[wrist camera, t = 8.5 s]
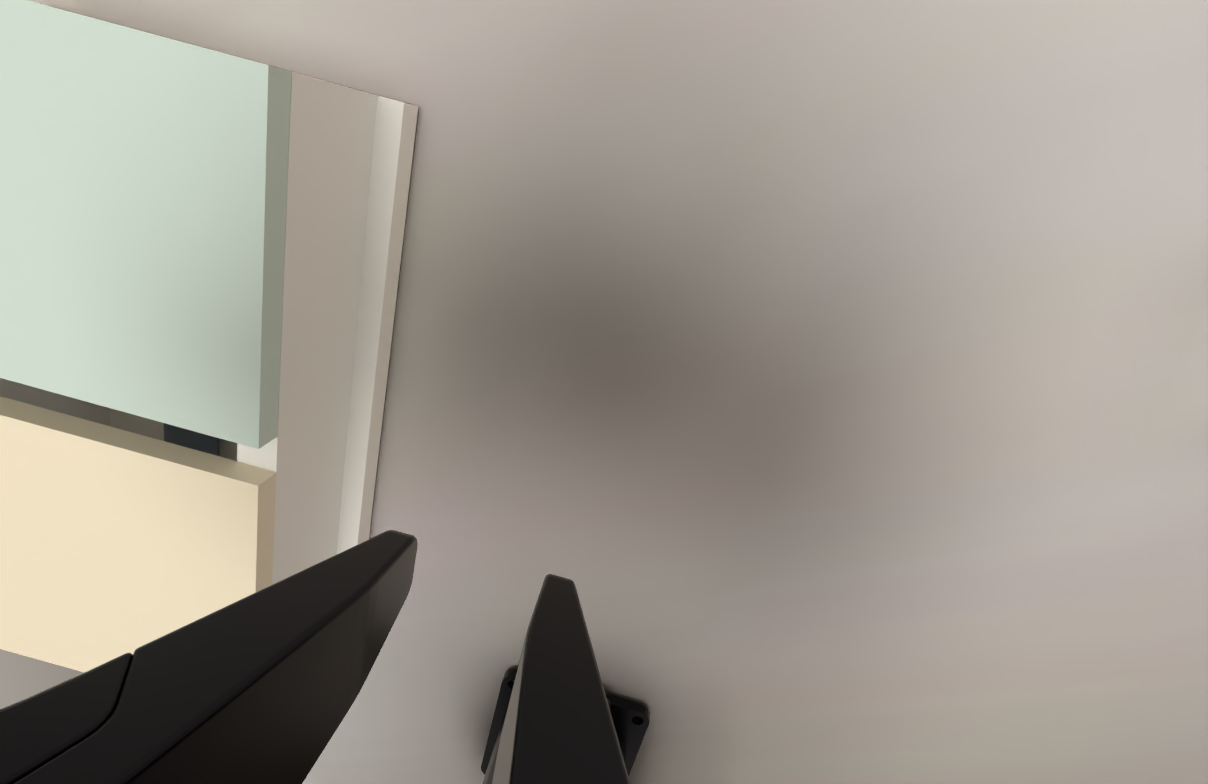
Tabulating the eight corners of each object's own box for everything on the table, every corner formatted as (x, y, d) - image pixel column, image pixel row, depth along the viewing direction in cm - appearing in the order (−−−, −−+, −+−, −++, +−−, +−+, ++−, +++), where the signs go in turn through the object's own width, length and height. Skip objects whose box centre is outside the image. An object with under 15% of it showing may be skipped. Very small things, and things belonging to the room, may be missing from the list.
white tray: (361, 606, 25) (289, 705, 20) (97, 531, 25) (-34, 612, 20) (418, 106, 18) (326, 80, 13) (46, 6, 18) (-177, -55, 13)
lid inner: (267, 699, 20) (252, 719, 19) (-16, 620, 20) (-42, 637, 20) (276, 472, 17) (258, 485, 16) (-64, 378, 17) (-98, 388, 16)
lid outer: (277, 436, 16) (258, 449, 16) (-72, 340, 16) (-107, 348, 16) (291, 71, 13) (268, 64, 12) (-150, -48, 13) (-200, -61, 12)
